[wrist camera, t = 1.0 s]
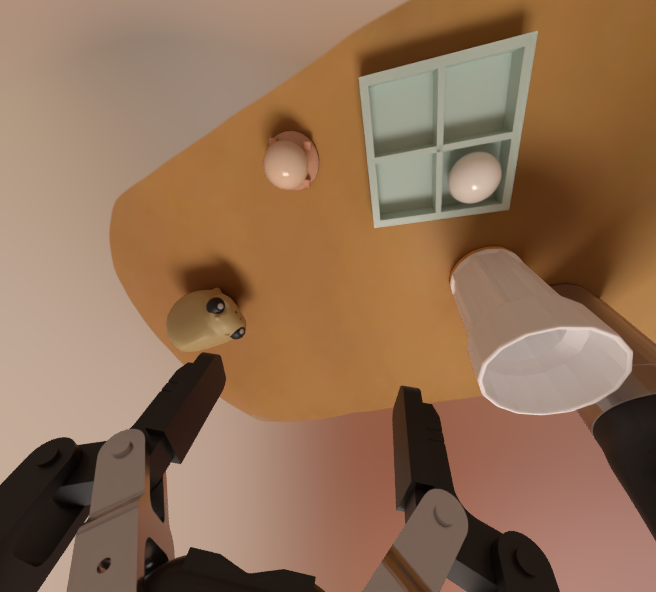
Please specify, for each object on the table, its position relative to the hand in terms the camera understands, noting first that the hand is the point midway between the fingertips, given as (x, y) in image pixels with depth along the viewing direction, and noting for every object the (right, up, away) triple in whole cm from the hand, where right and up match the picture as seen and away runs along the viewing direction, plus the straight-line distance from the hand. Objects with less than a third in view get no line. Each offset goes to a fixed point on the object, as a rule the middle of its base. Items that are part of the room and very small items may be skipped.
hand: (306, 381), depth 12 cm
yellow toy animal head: (-17, +3, +35) cm, 39 cm away
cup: (+23, +7, +26) cm, 35 cm away
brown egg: (-3, +20, +20) cm, 29 cm away
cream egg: (+17, +17, +19) cm, 30 cm away
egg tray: (+13, +20, +18) cm, 30 cm away
